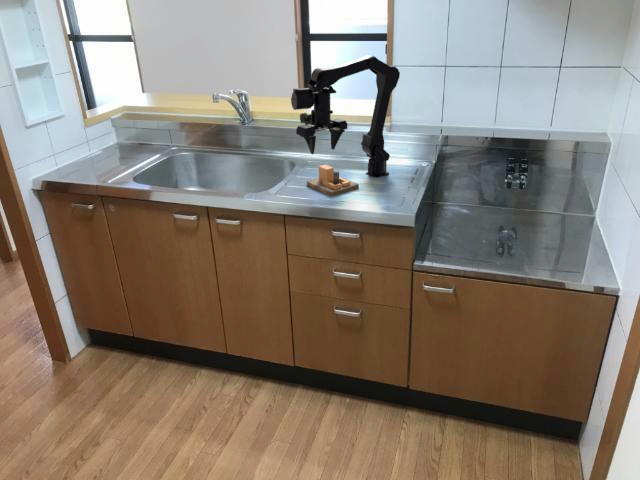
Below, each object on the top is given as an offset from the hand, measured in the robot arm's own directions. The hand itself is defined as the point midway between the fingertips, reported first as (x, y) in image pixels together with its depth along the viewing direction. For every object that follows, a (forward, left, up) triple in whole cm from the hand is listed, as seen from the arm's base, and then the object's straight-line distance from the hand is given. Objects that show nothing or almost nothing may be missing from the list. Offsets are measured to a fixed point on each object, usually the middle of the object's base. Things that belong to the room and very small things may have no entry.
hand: (322, 151), depth 183 cm
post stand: (0, +5, -12) cm, 13 cm away
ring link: (0, +5, -10) cm, 11 cm away
